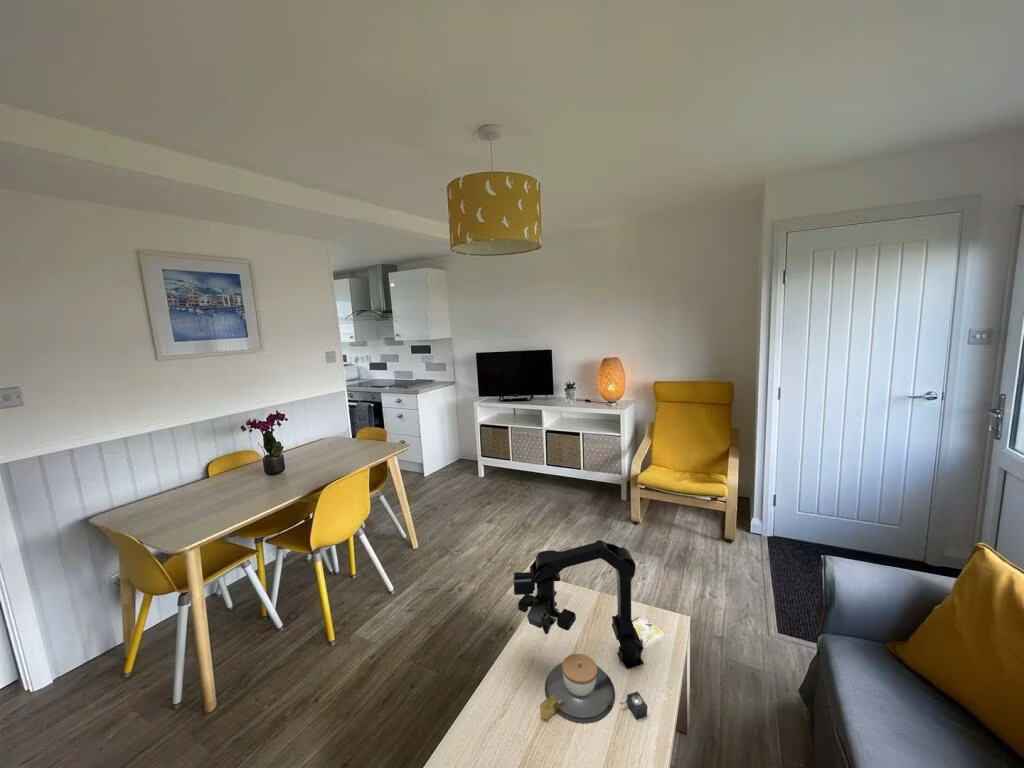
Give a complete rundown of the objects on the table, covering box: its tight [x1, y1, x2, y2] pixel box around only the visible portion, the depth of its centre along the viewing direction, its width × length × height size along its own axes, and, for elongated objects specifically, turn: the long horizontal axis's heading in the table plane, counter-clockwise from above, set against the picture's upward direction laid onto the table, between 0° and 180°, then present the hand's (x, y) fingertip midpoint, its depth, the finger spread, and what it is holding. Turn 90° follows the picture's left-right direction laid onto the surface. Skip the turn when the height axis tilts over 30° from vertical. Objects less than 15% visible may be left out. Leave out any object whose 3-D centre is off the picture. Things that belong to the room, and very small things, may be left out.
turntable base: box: [544, 667, 616, 724], centre depth 133 cm, size 22×22×1 cm
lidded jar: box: [561, 653, 598, 696], centre depth 132 cm, size 11×11×9 cm
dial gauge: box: [619, 691, 648, 721], centre depth 125 cm, size 6×5×4 cm
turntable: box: [539, 661, 612, 721], centre depth 131 cm, size 25×20×3 cm
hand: (546, 633), depth 141 cm, fingers closed
